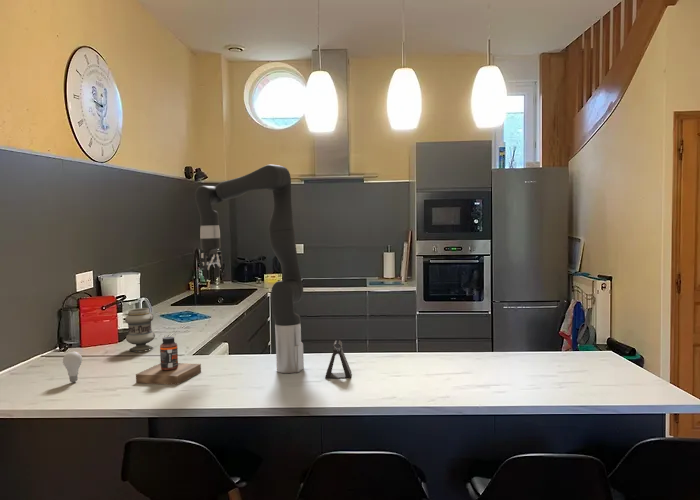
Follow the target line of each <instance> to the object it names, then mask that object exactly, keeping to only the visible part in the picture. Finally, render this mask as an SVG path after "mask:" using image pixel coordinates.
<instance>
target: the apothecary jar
mask: <svg viewBox="0 0 700 500" xmlns="http://www.w3.org/2000/svg"><path fill="white" fill-rule="evenodd" d="M153 320H154V315H153V314H152V313H151V312H150V309H149V308H148V307H140V308H133V309H132V308H131V309H129V310H128V313H127V315H126V316H125V317H124V321H125V323H126V324H127V326H128V327H127V328H128V334H127V335H126V336H125V340H126V342H127V343H129V344H130V345H135V346H133V347H131V348H129V350H130V351H129V350H128V351H129V352H131V351H136V352H135V353H138V352H137V351H145V350H149V349H152V348H153V349H154V347H153V345H149V344H148V343H151V342H152V341H153V340H154V339H155V338H156V334H155V332H154V331H153V330H152V329H153V328H152V322H153ZM153 349H152V350H153ZM149 351H150V350H149ZM145 352H146V351H145Z"/></svg>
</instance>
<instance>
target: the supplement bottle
mask: <svg viewBox="0 0 700 500" xmlns="http://www.w3.org/2000/svg"><path fill="white" fill-rule="evenodd" d="M159 353H160V355H159V357H160V363H161V369H162V370H174V369H177V368H178V363H179V357H178V355H179V354H178V353H179V352H178V344H177V342H176V341H175V336H165V337H162V343H161V344H160V346H159Z"/></svg>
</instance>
